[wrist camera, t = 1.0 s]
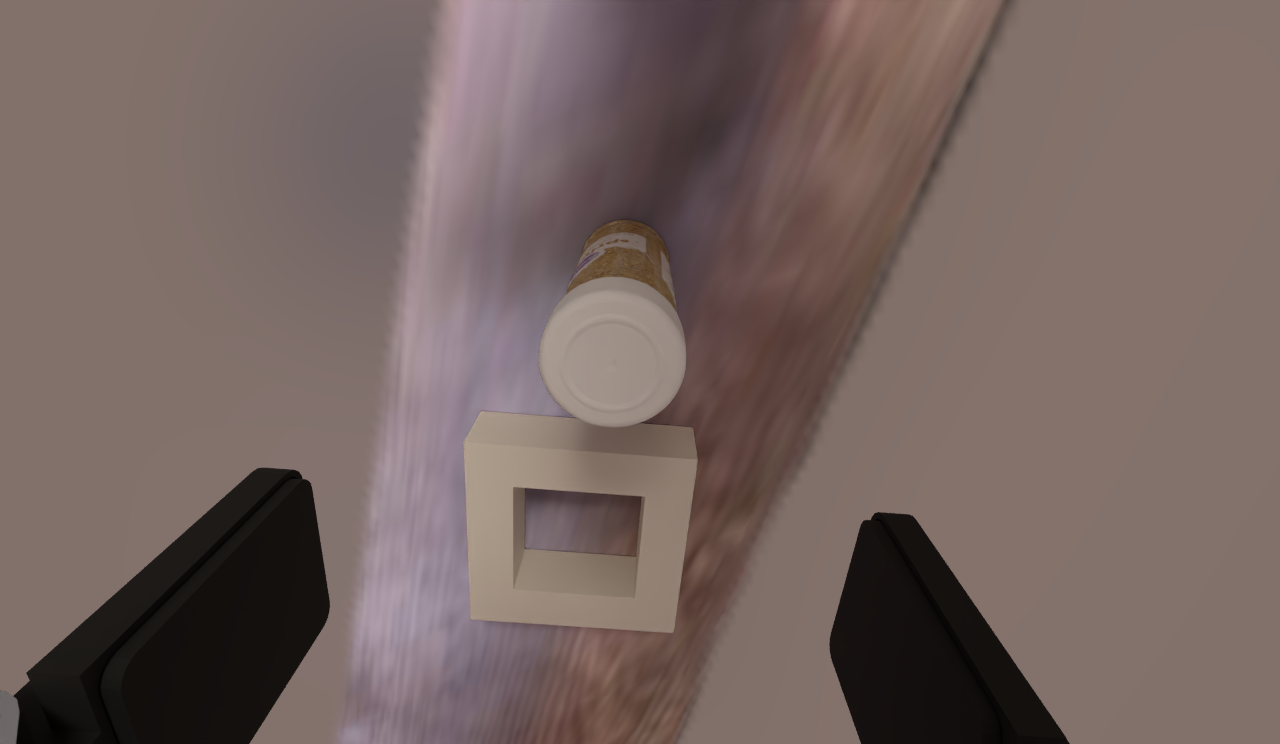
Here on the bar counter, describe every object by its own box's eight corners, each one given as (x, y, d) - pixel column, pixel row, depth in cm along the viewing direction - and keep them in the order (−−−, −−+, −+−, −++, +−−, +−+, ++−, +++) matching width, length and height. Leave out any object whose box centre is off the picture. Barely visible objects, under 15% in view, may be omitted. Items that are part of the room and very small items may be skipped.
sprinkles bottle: (605, 201, 29) (576, 263, 17) (686, 245, 30) (716, 336, 17) (565, 282, 31) (511, 394, 18) (643, 322, 31) (643, 455, 19)
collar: (481, 411, 33) (463, 442, 30) (692, 427, 34) (697, 459, 31) (485, 577, 38) (470, 619, 35) (671, 590, 38) (673, 633, 35)
